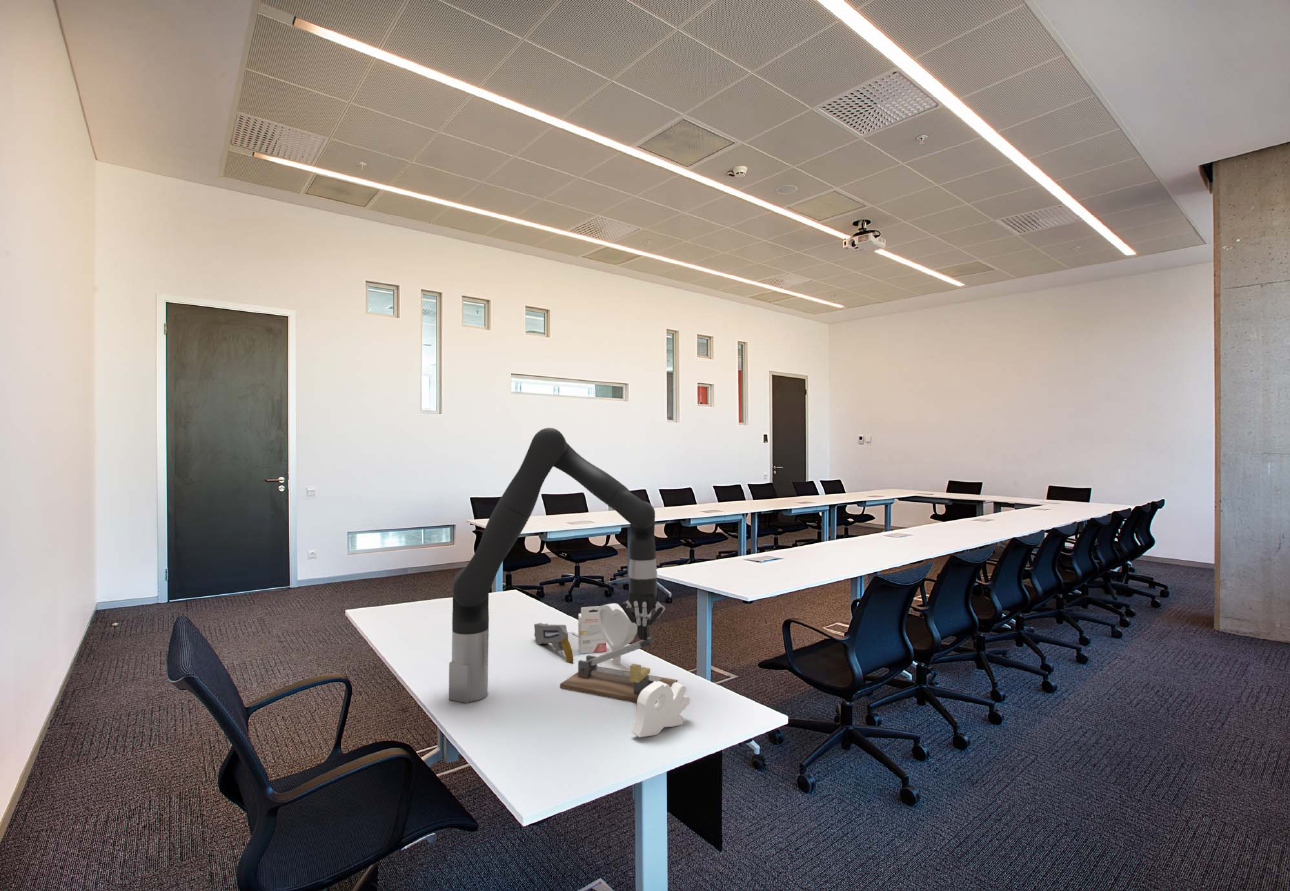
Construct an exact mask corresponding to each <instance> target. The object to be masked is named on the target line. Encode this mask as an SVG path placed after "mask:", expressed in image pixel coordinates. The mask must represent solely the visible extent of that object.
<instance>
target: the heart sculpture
mask: <svg viewBox="0 0 1290 891" xmlns="http://www.w3.org/2000/svg"><path fill="white" fill-rule="evenodd" d="M597 612H598V624H599V627H600V630H601V633H602V635H603V637H604V639H605V640H606V644H607V645H608V646H609V648H610V650H611V651H614V650H617V649H619V648H622V647H625V646H627V645H630V644H631V643H632V642H633V641H634V640H635V637H636V635H637V632H638V631H637V624H635V623H632V622H631V621H630V620H629V618H628V616H627V615H626V613H625V612H624V610H623V609H622V607H621V605H619V603H607V604H603V605H600V607H599V608H598V610H597ZM621 658H622V655H621V656H618V657H615V658H613V659H610V660H607V661H604V662H602V663H599V664H600V665H601V666H603V667H605V668H611V669H616V670H622V671H628V672H630V666H626V665H625V664H622V662H621Z"/></svg>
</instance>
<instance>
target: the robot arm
mask: <svg viewBox="0 0 1290 891" xmlns="http://www.w3.org/2000/svg"><path fill="white" fill-rule="evenodd" d="M553 468H555V469H557V470H559V471H561V472H563V473H565V474H566V475H567V476H569V477H571V478H572V479H574V480H575V481H576V482H578V483H579V485H581V486H583V487H584V488H585V490H587V491H588V492H589V493H591V494H592V495H593V496H595V497H596V499H599V500H600V501H601V502H602V503H604V504H605V505H607V506H608V507H609V508H612V509H613V510H614V511H615V512H617V513H618V514H619V515H620V516H621V517H622V518H623V519H624V520H626V522H628V523H629V524H630V542H629V565H628V583H629V584H628V586H629V587H628V588H629V590H628V591H629V595H628V598H627V600H626V601H624V602H622V603H621V604H620V607H621V608H622V609H623V610H624V612H625V613H626V615H627V616H628V618H629V620H630V621H631V622H632V623H635V624H637V633H636V635H637V637H638V638H639V641H641V640H646V639H647V638H649V637H650V626H652V625H653V624H655V623H656V622H657V621H658V619H659V618H660V617H661V615H662V614H663V613H664V612H665V610H666V608H667V607H666V605H664V604H661V603H660V602H659V598H658V595H657V592H658V589H657V586H658V584H657V583H658V580H657V576H658V572H657V561H656V558H657V557H656V541H655V540H656V539H655V530H656V529H655V525H656V511H655V508H654V506H653V505H652V504H651V503H650V502H648V501H645V500H642V499H641V498H639V497H638V496H637V495H635V494H633V493H632V492H631V491H630V490H629V489H628V487H627V486H625V485H624V484H623V483H621V482H620V481H619V480H618V479H616V478H615V477H613V476H612V475H610V474H609V473H608V472H606V471H604V470H603V469H601V468H599V467H598V466H596V465H595V464H593V463H591V462H590V461H588V460H586V459H585V458H584V457H582V456H581V455H580V454H579V453H578V452H577V451H576V450H574V448H573V447H571V445H570V444H569V443H568V442H567V440H566V437H564V435H563V433H562V432H561V431H559V430H558V429H556V428H555V427H545V428H542V429H540V430H539V431H537V432H536V433H535V434H534V436H533V437H532V440H531V442H530V444H529V446H528V449H527V451H526V454H525V456H524V459H523V461H522V463H521V464H520V467H519V468H518V471H517V472H516V473H515V475H514V476H513V478H512V480H511V481H510V482H509V484H508V485H507V487H506V489H505V491H504V492H503V494H502V495H501V496H500V498H499V500H498V502H497V503H496V506H495V507H494V509H493V511H492V512H491V515H490V517H489V518H488V520H487V523H486V525H485V528H484V530H483V533H482V536H481V539H480V542H479V544H478V547H477V548H476V551H475V553H474V554H473V556H472V557H471V559H470V560H469V562H468V563H467V565H466V567H463V568H462V569H460V570H459V571H458V572H456V574H455V576H454V578H453V581H452V614H451V615H452V616H451V617H452V619H451V622H452V623H451V625H452V626H451V627H452V628H451V631H452V632H451V634H452V637H451V661H450V662H449V663H448V700H451V701H454V702H460V703H464V704H469V703H471V702H476V701H480V700H482V699H484V698H486V697H487V696H488V694H489V636H490V634H489V628H490V627H489V625H490V616H489V614H490V612H489V605H490V604H489V600H490V599H489V593H490V590H491V589H492V586H493V584H494V581H495V579H496V576H497V574H498V571H499V570H500V567H501V566H502V564H503V562H504V560H505V558H507V555H508V554H509V553H510V551H511V549H512V548H513V547H514V545H515V543H516V542H517V540H518V539H519V537H520V535H521V533H522V532H523V530H524V528H525V527H526V525H527V523H528V521H529V519H530V517H531V515H532V513H533V511H534V509H535V506H536V504H537V501H538V499H539V495H540V492H541V488H542V486H543V485H544V482H545V480H546V478H547V477H548V476H549V474H550V472H551V471H552V470H553ZM652 611H655V612H654V614H653V615H652Z"/></svg>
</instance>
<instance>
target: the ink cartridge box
mask: <svg viewBox="0 0 1290 891" xmlns="http://www.w3.org/2000/svg"><path fill="white" fill-rule="evenodd" d="M600 606H601V605H600ZM600 606H598V605H597V606H584V607H583V606H582V607H581V608H580V613H578V615H577V616H578V620H577V621H578V625H577V626H578V628H577V630H578V633H577V636H578V638H577V640H578V641H577V642H578V644H577V645H578V646H577V647H578V651H579V653H580V654H592V653H603V652H604V653H605V652H607V642H606V640H605V639H604V637H603V635H602V633H601V630H600V627H599V624H598V608H599V607H600ZM593 610H594V611H593ZM590 611H591V612H590Z"/></svg>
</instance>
